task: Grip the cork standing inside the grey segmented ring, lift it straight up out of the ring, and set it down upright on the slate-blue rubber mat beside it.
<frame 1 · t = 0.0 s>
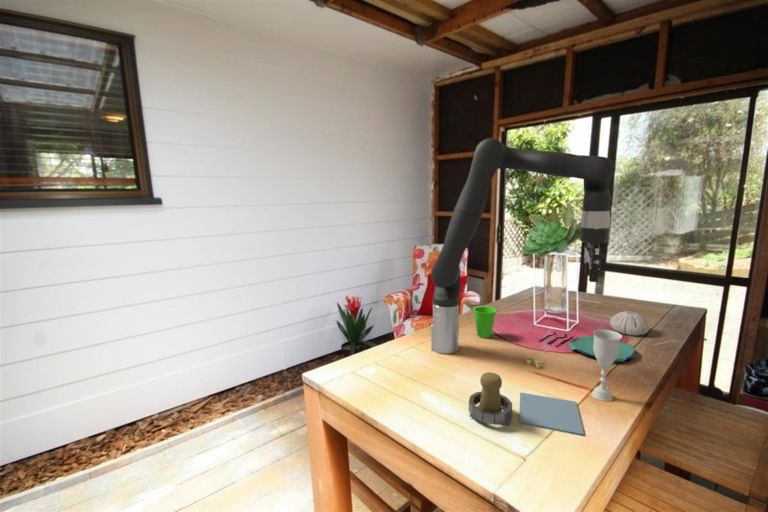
hand: (590, 278, 110), 29 cm above the table, tool pointing down, fingers open, 8 cm apart
cup: (484, 336, 142), on the table
chalice: (601, 396, 98), on the table
sea urchin shell: (628, 331, 144), on the table
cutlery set: (586, 348, 130), on the table
grey segmented ring: (490, 414, 91), on the table
cork: (490, 415, 91), resting in grey segmented ring
dice set: (533, 365, 118), on the table
rubber mat: (548, 412, 91), on the table
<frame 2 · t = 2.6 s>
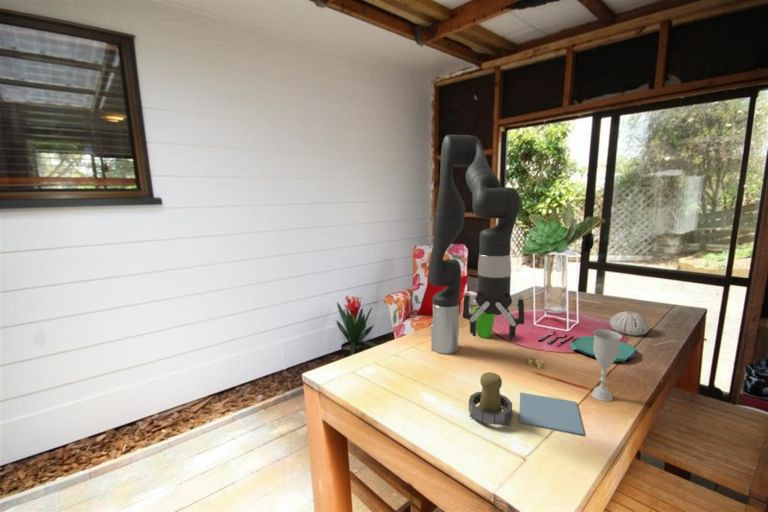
hand: (492, 337, 88), 21 cm above the table, tool pointing down, fingers open, 8 cm apart
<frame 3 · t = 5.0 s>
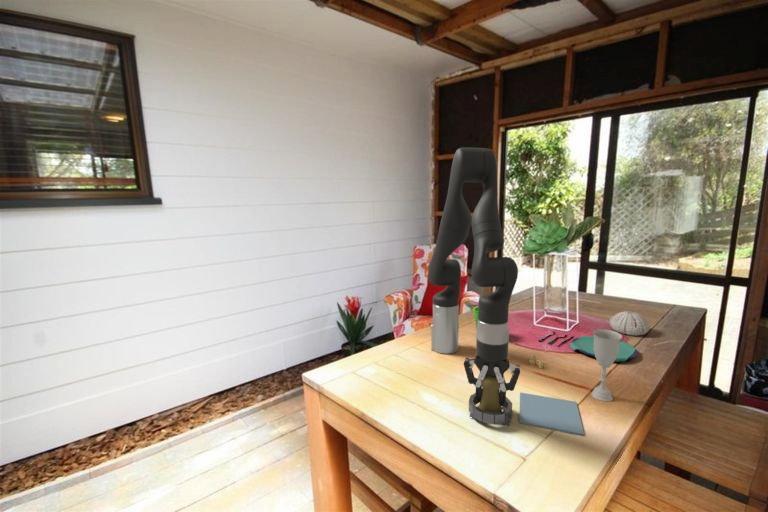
hand: (490, 400, 90), 4 cm above the table, tool pointing down, fingers closed on cork, 4 cm apart
cork: (490, 415, 91), resting in grey segmented ring, touching gripper
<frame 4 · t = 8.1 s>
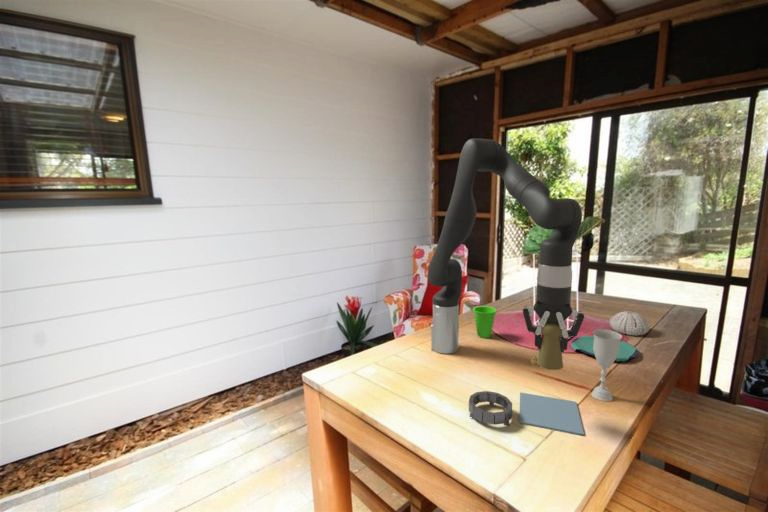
hand: (550, 349, 88), 17 cm above the table, tool pointing down, fingers closed on cork, 4 cm apart
cork: (549, 364, 89), point 13 cm above the table, touching gripper
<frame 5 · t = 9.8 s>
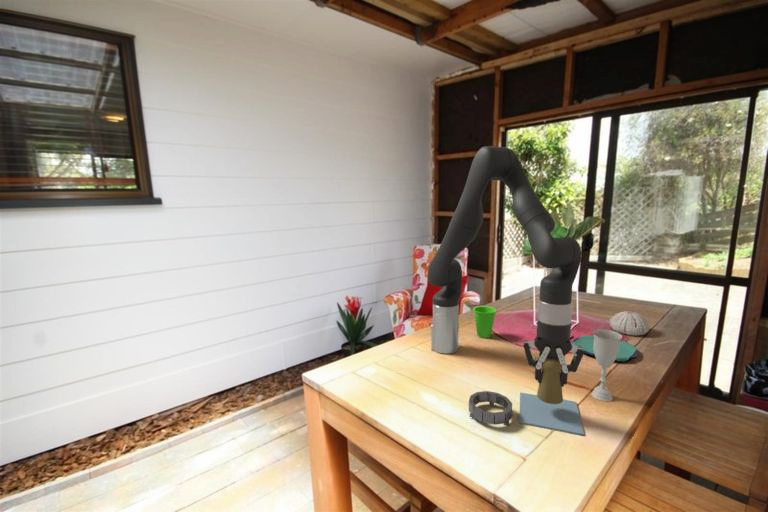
hand: (550, 382, 90), 8 cm above the table, tool pointing down, fingers closed on cork, 4 cm apart
cork: (549, 398, 91), point 4 cm above the table, touching gripper
when the fingers open (6 cm above the table, at t = 11.2 s): cork drops 1 cm, resting on rubber mat.
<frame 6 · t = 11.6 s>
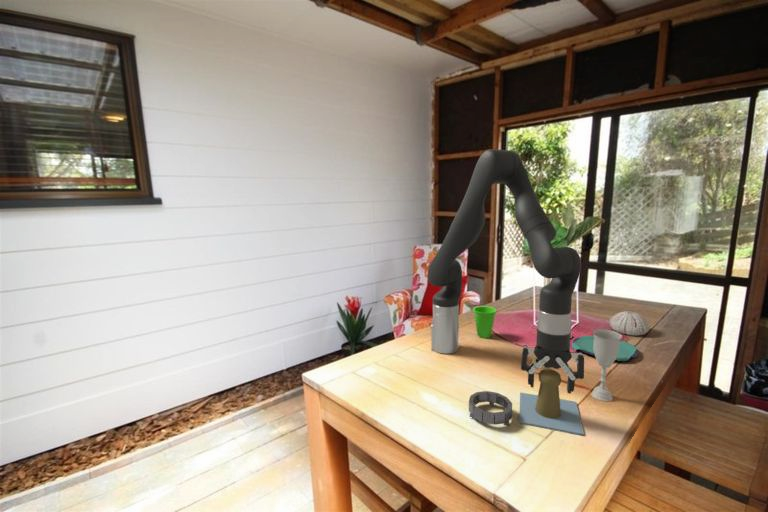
hand: (550, 388, 90), 7 cm above the table, tool pointing down, fingers open, 8 cm apart
cork: (547, 412, 91), resting on rubber mat
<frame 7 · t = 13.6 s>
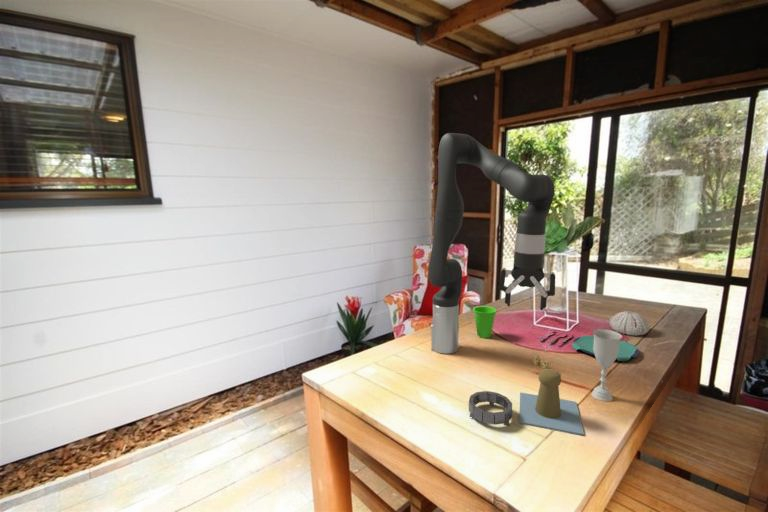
hand: (524, 307, 99), 24 cm above the table, tool pointing down, fingers open, 8 cm apart
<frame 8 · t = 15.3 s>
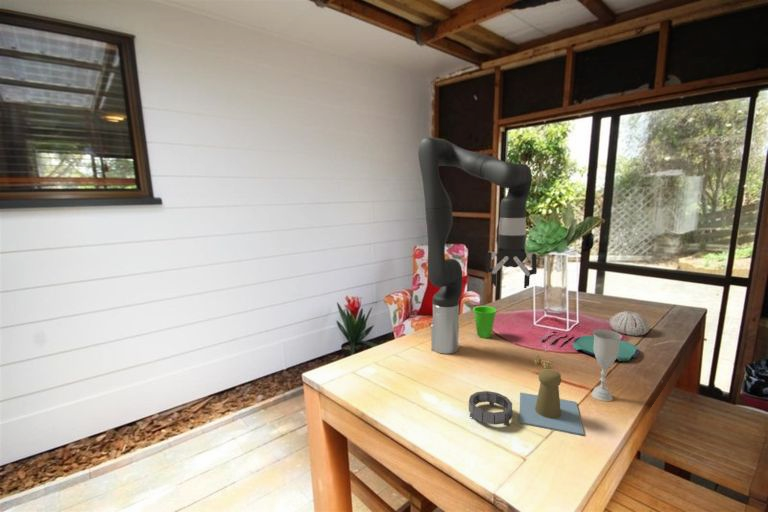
hand: (510, 286, 107), 28 cm above the table, tool pointing down, fingers open, 8 cm apart
at the end: cork inside the target area on the rubber mat (0.4 cm from its centre), point 0.2 cm above the rubber mat's base; cork tilted 0°; the gripper is holding nothing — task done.
